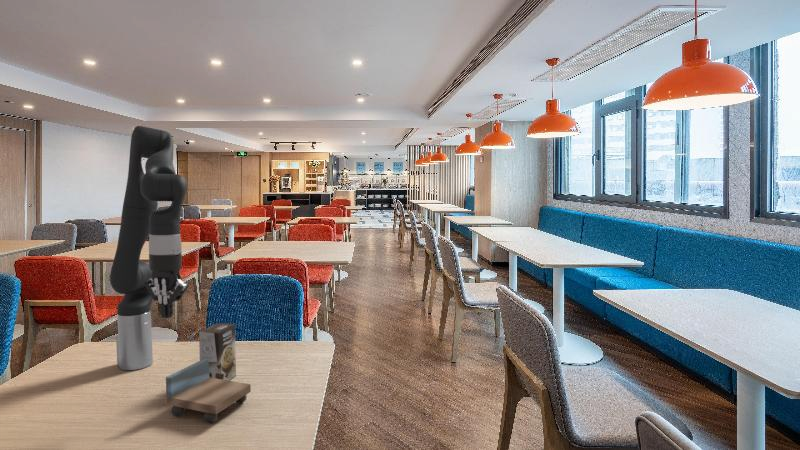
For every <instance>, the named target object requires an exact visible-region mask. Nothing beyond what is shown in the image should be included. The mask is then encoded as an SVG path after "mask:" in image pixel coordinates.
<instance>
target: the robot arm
mask: <svg viewBox="0 0 800 450" xmlns="http://www.w3.org/2000/svg"><path fill="white" fill-rule="evenodd" d="M142 158H143V159H147V160H146V161H145V163H144V164H145V165H144V168H143V164H142ZM174 166H175V165H174V139H173V136H172V134H171V133H170V132H168V131H166V130H162V129H158V128H152V127H148V126H143V125H137V126H134V129H132V133H131V138H130V145H129V159H128V172H127V180H126V187H125V193H124V199H123V203H122V204H123V205H122V211H121V218H120V228H119V233H118V238H117V239H118V240H117V246H116V250H115V255H114V257H113V260H112V261H113V263H112V266H111V269H110V275H109V281H110V285H111V288H112V289H113V291H115V292H116V293H117V294H121V295H124V296H123V297H122V299H121V301H120V302H119V303H117V307H116V315H117V317H116V318H117V336H116V338H115V341H116V343H115V344H116V363H117V364H116V365H117V367H119V369H121V370H122V371H135V370H140V369H144V368H148V367H150V366H151V365H152V364H154V363H153V362H154V361H153V360H154V359H153V333H152V332H153V331H152V311H151V310H152V309H151V307H152V303H153V301H156V302H158V303H159V313H160V318H161V319H169V318H171V317H172V316H173V315H174V303H175V302H179V301H180V300H181V298H182V297H183V295H184V293H185V292H186V291H187V289H188V288H189V284H188V283H187V282H185V283H184V281H182V276H181V273H180V272H181V271H180V270H181V269H182V267H183V261H182V260H183V259H182V249H183V248H182V238H181V215H182V214H181V213H182V208H183V203H184V201H185V198H186V194H187V190H188V183H187V180H186V179H185V177H184V176H182V175H181V174H177V173H176V170H175V167H174ZM144 170H145V172H144ZM158 202H171V204H170V205H169V206H168V208H163V209H161V210H158V207H159V206H158V205H159V204H158ZM147 239H149V240H148V263H147V262H145V261H144V260H140V259H141V253H142V250H143V247H144V245H145V243H146V241H147Z"/></svg>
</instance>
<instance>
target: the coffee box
mask: <svg viewBox="0 0 800 450" xmlns="http://www.w3.org/2000/svg"><path fill="white" fill-rule="evenodd" d="M198 332H199V333H198V334H199V335H198V336H199V337H198V338H199V342H198V343H199V345H198V346H199V361H201V360H203V359H208V360H209V377H210V378H216V379H222V380H228V381H232V379H234V378H235V377H236V376H237V362H236V361H237V358H236V357H237V356H236V348H237V346H236V324H235V323H223V322H222V323H217V322H216V323H214V324H212V325H211V326H208V327H206V328H204V329H202V330H199V331H198Z"/></svg>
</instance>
